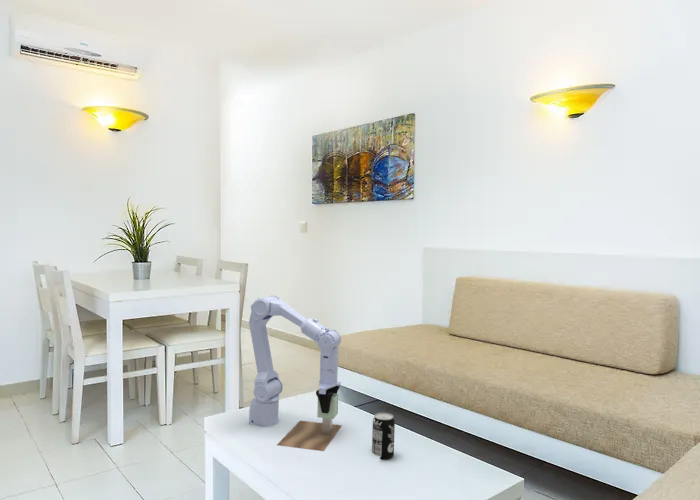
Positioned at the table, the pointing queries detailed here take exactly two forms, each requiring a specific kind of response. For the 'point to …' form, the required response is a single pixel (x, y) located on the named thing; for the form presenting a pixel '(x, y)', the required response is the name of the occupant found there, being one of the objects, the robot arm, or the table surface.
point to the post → (326, 426)
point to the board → (308, 436)
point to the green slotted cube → (333, 408)
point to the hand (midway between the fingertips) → (327, 409)
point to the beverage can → (383, 435)
